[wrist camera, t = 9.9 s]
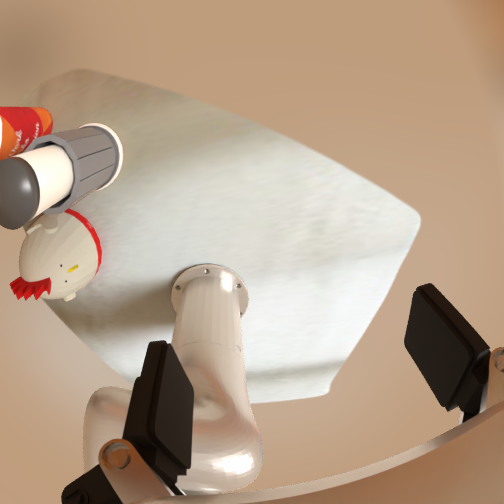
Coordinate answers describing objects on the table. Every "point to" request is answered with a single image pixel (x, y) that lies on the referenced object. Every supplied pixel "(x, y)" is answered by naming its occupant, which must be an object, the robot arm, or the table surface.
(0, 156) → the coffee cup
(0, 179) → the plunger
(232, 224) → the table surface
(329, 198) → the table surface
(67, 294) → the kitchen timer
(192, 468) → the robot arm
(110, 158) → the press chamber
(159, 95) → the table surface
